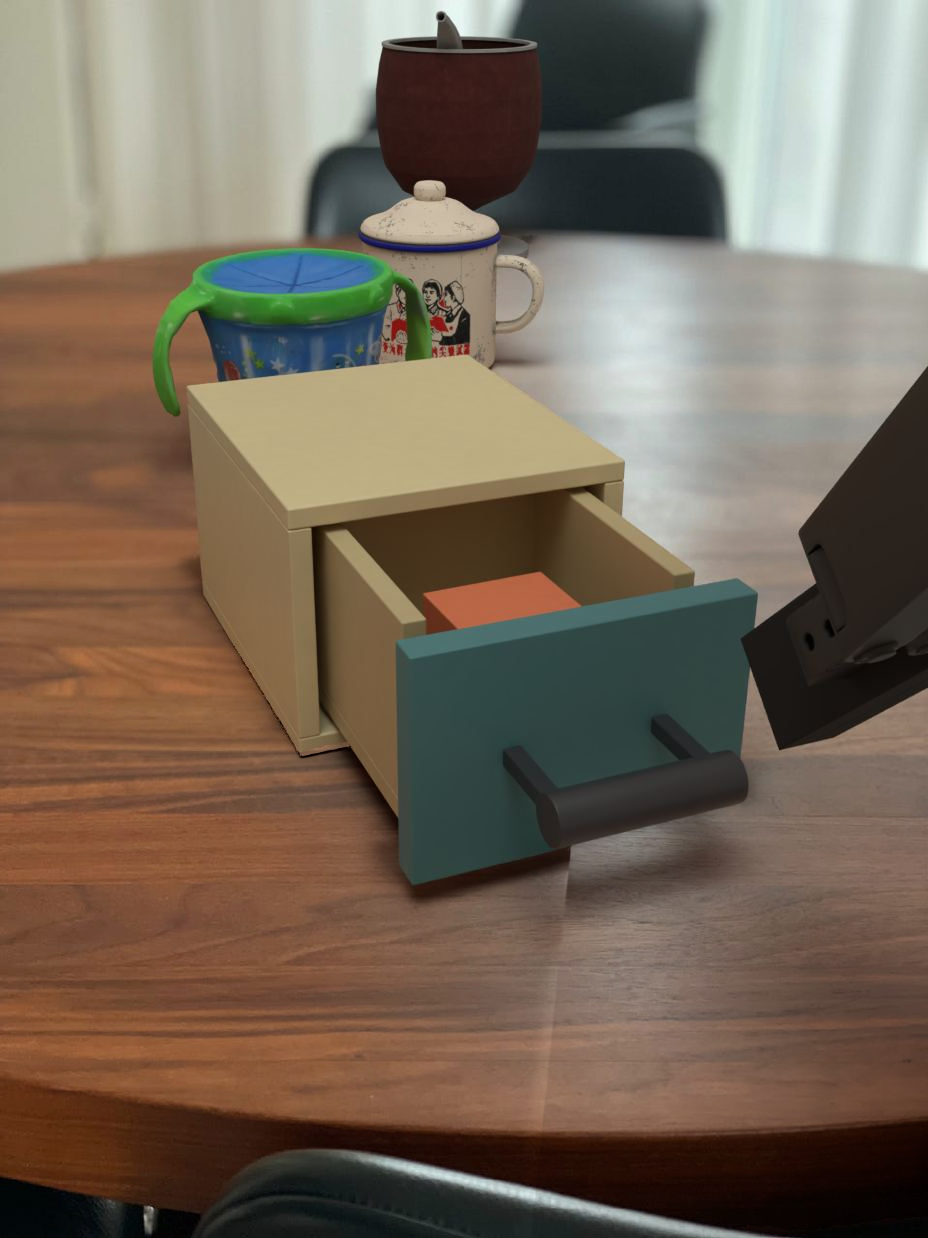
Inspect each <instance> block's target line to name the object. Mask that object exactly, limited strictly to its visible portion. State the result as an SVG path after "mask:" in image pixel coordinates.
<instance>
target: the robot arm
mask: <svg viewBox="0 0 928 1238" xmlns="http://www.w3.org/2000/svg"><path fill="white" fill-rule="evenodd" d="M797 534H798V539H799V540H800V543H801V545H802V548H803V551H804V554H805V556H806V560H807V562H808V565H809V567H810V571H811V573H812V576H813V578H814V581H815V583H814V584H813V585H811V586H810V587H808V588H807V589H806V590H804V591H803V592H801V593H800V594H799V595H798V596H797V597H795V598H794V599H792V600H791V601H789V602H788V603H787V604H785V605H784V606H783V607H781V608H780V609H779V610H777V611H776V612H774V613H773V614H772V615H771V616H769V617H768V618H766V619H765V620H763V621H762V622H761V623H760V624H758V625H757V626H755V627H754V629H753V630H752V631H750V632H749V633H747V634H746V635H745V636H743V637H742V638H741V642H742V645H743V648H744V651H745V654H746V657H747V659H748V662H749V665H750V672H751V673H752V677H753V679H754V682H755V685H756V688H757V692H758V694H759V697H760V700H761V703H762V706H763V708H764V711H765V715H766V717H767V720H768V723H769V726H770V729H771V731H772V734H773V737H774V740H775V743H776V747H777V749H778V751H783V750H787V749H791V748H795V747H800V746H805V745H809V744H812V743H818V742H821V741H826V740H830V739H834V738H836V737H838V736H840V735H842V734H844V733H845V732H848V731H849V730H851V729H854V728H855V727H858V726H859V725H861V724H863V723H865V722H867V721H869V720H871V719H872V718H874V717H876V716H878V715H880V714H881V713H883V712H886V711H887V710H890V709H891V708H893V707H895V706H896V705H898V704H900V703H903V702H904V701H906V700H908V699H910V698H911V697H913V696H916V695H917V694H919V693H921V692H923V691H925V690H927V689H928V365H927V366H926V368H925V369H924V370H923V371H922V372H921V374H920V375H919V376H918V378H917V379H916V380H915V381H914V383H913V384H912V385H911V387H909V389H908V390H907V391H906V392H905V394H904V395H903V397H902V398H901V399H900V401H899V402H898V403H897V404H896V406H895V407H894V408H893V409H892V411H891V412H890V413H889V414H888V415H887V417H886V418H885V419H884V421H883V422H882V423H881V424H880V426H879V427H878V428H877V430H876V431H875V433H873V435H872V436H871V438H870V439H869V440H868V441H867V443H866V444H865V445H864V447H863V448H862V449H861V451H859V453H858V454H857V455H856V457H855V458H854V459H853V460H852V462H851V463H850V464H849V466H848V467H847V468H846V470H845V471H844V472H843V473H842V475H840V477H839V479H838V480H837V481H836V482H835V484H834V485H833V486H832V488H831V489H830V490H829V491H828V492H827V493H826V495H825V496H824V498H823V499H822V500H821V502H819V504H818V505H817V507H816V508H815V509H814V511H813V512H812V513H811V514H810V515H809V517H808V518H807V519H806V520H805V522H804V523H803V524H802V526H801V527H800V528H799V530H798V533H797Z"/></svg>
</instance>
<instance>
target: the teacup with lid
mask: <svg viewBox="0 0 928 1238" xmlns="http://www.w3.org/2000/svg"><path fill="white" fill-rule="evenodd" d="M445 194H446V187H445V185H444V184H443V183H442V182H440V181H431V180H428V181H419V182H417V183H416V184H415V186H414V195H415V196H412V197H408V198H405V199H402V200H400V201H398V202H397V203H396V204H394V205H393V206H392V207H390V208H388V209H387V210H385V211H383V212H379V213H375V214H373V215H370V216H369V217H367V218H365V219H364V220H363V221H362V223H361V225H360V230H359V231H358V238H359V240H360V241H361V243H362V254H367V255H370V256H373V257H376V258H378V259H381V260H383V261H384V262H386V263H387V264H388V265H389V266H390V267H391V269H392V270H393V271H395V272H397V273H400V274H401V275H403V276H405V277H407V278H408V279H409V280H411V281H412V282H413V283H414V284H415V285H416V287H417V288H418V290H419V291H420V293H421V295H422V296H423V299H424V302H425V305H426V308H427V311H428V315H429V321H430V326H431V334H432V356H431V359H432V358H441V357H450V356H459V355H469V356H470V357H472V358H473V359H475V360H476V361H478V362H479V363H481V364H482V365H484V366H485V367H487V368H488V369H490V368H491V366H493V364H494V362H495V359H496V335H505V334H513V333H517V332H518V331H521V330H523V329H524V328H526V327H527V326H528V325H530V324H531V322H532V321H533V320H534V319H535V318H536V316H537V315H538V313H539V311H540V308H541V306H542V303H543V300H544V296H545V281H544V277H543V274H542V272H541V271H540V269H539V268H538V267H537V266H536V265H535V264H534V263H533V262H532V261H530V260H529V259H527V258H523V257H520V256H514V255H497V242H498V241H499V240H500V238H501V234H502V232H501V231H500V227H499V225H498V223H497V222H496V220H495V219H493V218H492V217H490V216H488V215H486V214H483V213H479V212H475V211H472V210H470V209H469V208H467V207H466V206H465V205H463V204H462V203H461V202H459V201H457V200H454V199H451V198H447V197H445ZM498 268H499V269H501V268H502V269H503V268H506V269H515V270H517V271H520V272H522V273H523V274H524V275H526V277H527V278H528V279H529V281H530V283H531V287H532V295H531V300H530V304H529V306H528V307H527V310H526V311H525V312H524V313H523V314H522V315H520V316H519V317H517V318H515V319H511V320H497V280H498V279H497V277H498V276H497V275H498V274H497V271H498ZM381 340H382V346H381V353H380V358H379V364H387V363H396V362H405V352H406V346H407V342H408V340H407V324H406V303H405V292H404V291H403V290H402V289H401V288H400V287H399V286H398V285H397V284H396V283H395V284H394V285H393V293H392V297H391V300H390V302H389V304H388V307H387V310H386V313H385V317H384V323H383V331H382V338H381Z"/></svg>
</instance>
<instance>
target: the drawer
mask: <svg viewBox="0 0 928 1238" xmlns="http://www.w3.org/2000/svg"><path fill="white" fill-rule="evenodd" d="M310 528H311V532H312V555H313V578H314V601H315V624H316V647H317V670H318V693H319V700H320V701H321V703H322V704H323V706H324V707H325V709H326V710H327V712H328V713H329V715H330V716H331V718H332V719H333V721H334V722H335V724H336V725H337V727H338V728H339V730H340V731H341V733H342V734H343V736H344V737H345V739H346V740H347V742H348V743H349V745H350V746H351V747H350V748H351V750H352V751H353V752H354V754H355V756H356V757H357V759H358V760H359V762H360V763H361V765H362V766H363V768H364V769H365V770H366V772H367V774H368V775H369V777H370V779H372V781H373V782H374V784H375V786H376V787H377V789H378V790H379V792H380V793H381V794H382V796H383V798H384V799H385V800H386V802H387V804H388V805H389V807H390V809H391V810H392V811H393V812H394V814H395V815H396V817H397V819H398V820H397V821H398V825H397V826H398V865H399V867H400V868H401V870H402V872H403V873H404V874H405V876H406V878H407V879H408V881H409V882H410V884H411V885H412V886H418V885H421V884H424V883H425V884H426V883H429V882H434V881H437V880H440V879H446V878H449V877H454V876H458V875H461V874H466V873H470V872H474V871H479V870H481V869H486V868H490V867H495V866H498V865H501V864H502V865H503V864H506V863H510V862H515V861H518V860H523V859H527V858H531V857H534V856H539V855H542V854H546V853H551V852H554V851H559V850H563V849H567V848H570V847H572V846H574V845H575V846H576V845H578V844H582V843H587V842H591V841H594V840H599V839H603V838H606V837H612V836H614V835H619V834H623V833H628V832H631V831H635V830H639V829H643V828H647V827H652V826H655V825H659V824H664V823H667V822H672V821H676V820H680V819H684V818H688V817H692V816H696V815H699V814H704V813H708V812H712V811H716V810H720V809H724V808H729V807H733V806H737V805H741V804H743V803H744V802H745V801H746V799H747V797H748V795H749V789H750V787H749V785H750V784H749V777H748V772H747V769H746V766H745V765H744V762H743V760H742V758H741V756H742V748H743V738H744V728H745V720H746V710H747V701H748V693H749V692H748V691H749V681H750V673H751V668H750V665H749V662H748V659H747V657H746V654H745V651H744V648H743V645H742V642H741V638H742V637H743V636H745V635H746V634H747V633H749V632H750V631H752V630H753V629H754V628H756V616H757V607H758V598H759V593H758V591H756V590H755V589H753V588H752V587H751V586H749V585H748V584H747V583H746V582H744V581H742V580H741V579H740V578H739V577H737V578H736V577H735V578H731V579H726V580H720V581H714V582H708V583H702V584H698V585H695V576H696V572H695V570H694V569H693V568H692V567H691V566H689V565H688V564H687V563H685V562H683V561H682V560H681V559H680V558H678V557H677V556H676V555H674V554H673V553H671V552H670V551H669V550H667V549H666V548H665V547H664V546H663V545H660V544H659V543H658V542H657V541H655V540H654V539H653V538H652V537H650V536H649V535H647V534H646V533H645V532H644V531H642V530H641V529H639V528H638V527H637V526H635V525H634V524H633V523H631V522H630V521H628V520H627V519H626V518H624V517H623V515H622V516H620V515H619V514H618V513H616V512H615V511H613V510H612V509H611V508H609V507H608V506H607V505H605V504H604V503H603V502H601V501H600V500H599V499H597V498H596V497H595V496H593V495H592V494H591V493H589V492H588V491H587V490H585V489H584V488H582V487H574V488H568V489H561V490H554V491H548V492H541V493H534V494H528V495H521V496H514V497H508V498H501V499H494V500H488V501H481V502H474V503H468V504H461V505H454V506H448V507H441V508H434V509H428V510H421V511H415V512H408V513H401V514H395V515H388V516H381V517H375V518H368V519H361V520H355V521H348V522H341V523H335V524H328V525H321V526H315V527H310ZM536 572H542V573H543V574H544V575H545V576H546V577H547V578H549V579H550V580H551V581H552V582H553V583H555V584H556V585H557V586H558V587H559V588H561V589H562V590H563V591H564V592H565V593H567V594H568V595H569V596H570V597H571V598H573V599H574V600H575V601H576V602H577V603H578V604H580V605H581V606H582V607H577V608H571V609H566V610H560V611H555V612H549V613H544V614H538V615H533V616H527V617H522V618H517V619H511V620H506V621H500V622H495V623H489V624H484V625H478V626H473V627H467V628H462V629H456V630H451V631H445V632H440V633H435V634H429V635H426V618H425V617H424V616H423V593H428V592H433V591H438V590H444V589H449V588H455V587H460V586H465V585H471V584H476V583H482V582H487V581H492V580H498V579H503V578H509V577H514V576H519V575H525V574H530V573H536Z"/></svg>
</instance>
